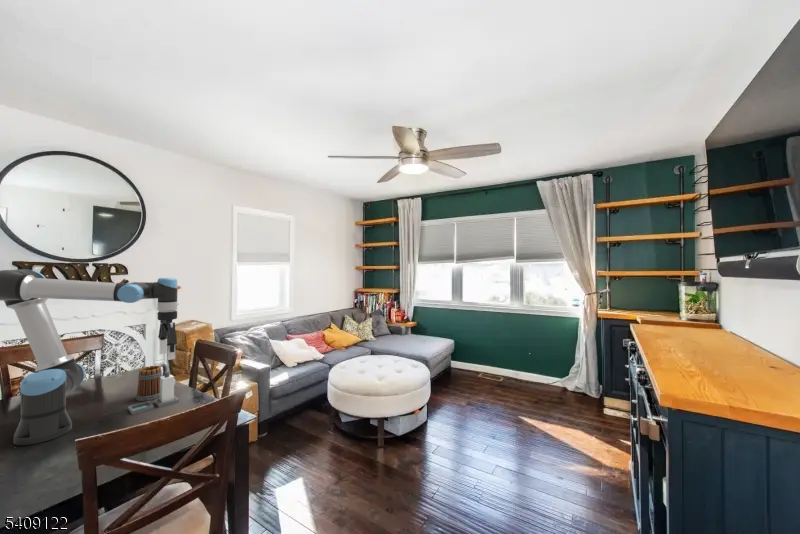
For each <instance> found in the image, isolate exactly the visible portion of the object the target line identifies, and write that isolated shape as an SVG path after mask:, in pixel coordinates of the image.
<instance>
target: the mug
mask: <svg viewBox="0 0 800 534" xmlns="http://www.w3.org/2000/svg"><path fill="white" fill-rule="evenodd" d="M165 372H168V367H167V364H166V363H159V364H158V365H150V366H144V367H142V368H140V369H139V372H138V378H137V379H138V381H137V382H138V383H137V392H136V398H135V399H136V401H138V402H147V401H155V399H159V398H160V377H162V376H165Z"/></svg>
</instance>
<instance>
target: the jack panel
mask: <svg viewBox="0 0 800 534" xmlns="http://www.w3.org/2000/svg"><path fill="white" fill-rule="evenodd" d="M178 403H180V398H178V397H177V396H176V395H175V394H174V400H172V401H168V402H164V403H160V398H157V399H154V404H155V405H156V406H157V407H158V408H163V407H167V406H170V405H174V404H178ZM154 404H153V403H152V401H151V400H149V401H142V402H140V403H136V404H132V405H128V408H127V409H128V411H129V413H130V415H135V414H139V413H143V412H148V411H150V410H154V409H155V405H154Z"/></svg>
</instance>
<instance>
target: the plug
mask: <svg viewBox="0 0 800 534" xmlns="http://www.w3.org/2000/svg"><path fill="white" fill-rule="evenodd" d="M175 385H176V379H175V376H174V375H172V374H170V371H167V372H165V376H162V377H160V403H164V402H168V401H172V400H174V395H175Z"/></svg>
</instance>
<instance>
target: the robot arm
mask: <svg viewBox="0 0 800 534" xmlns="http://www.w3.org/2000/svg"><path fill="white" fill-rule="evenodd" d="M178 289H179V288H178V280H177V278H175V277H160V278H158V279H157V281H154V282H147V281H146V282H143V281H141V282H139V281H133V282H126V283H123V282H121V283H120V282H107V281H105V282H103V281H89V280H76V279H74V280H72V279H58V278H57V279H56V278H46V277H45V275H43V273H41V272H39V271H36V270H32V269H28V268H26V269H25V268H21V269H3V270H0V301H2V302H4V304H5V306H6V307H7V308H8V309H11V310H14V312H15V315H16V317H17V320H18V322H19V323H20V326H21V328H22V331H23V332H24V335H25V337H26V340H27V342H28V344H29V347H30V349H31V351H32V354H33V356H34V358H35V360H36V363H37V367H36V368H35V369H34V372H33V373H31V374H27V376H25V377H24V378H23V379H22V381H21V383H20V388H19V391H20V421H19V423H18V426H17V427H16V430H15V432H14V434H13V439H12V440H13V441H12V442H13V444H14V445H15V446H16V445H17V446H28V445H29V446H30V445H35V444H39V443H40V444H41V443H44V442H48V441H51V440H54V439H57V438H59V437H62V436H63V435H65V434H67V433H69V432H70V431H71V430H72V429H73V422H72V419H71V417H70V415H69V414H68V411H67V410H66V405H67V404H66V403H67V400H66V399H67V398H66V397H67V395H69V394H70V393H72V392H73V391H75V390H76V389H77V388H78V387H79V386H80V385H81V384H82V383H83V381H84V379H85V377H86V371H85V370H86V369H85V368H84V367H83V366H82V365H81V364H79V363H77V361H76V360H75V357H74V356H72V355H71V356H70V355H68V353H67V352H66V351H67V350H66V349H65V347H64V344H63V341H62V340H61V337H60V335H59V333H58V332H59V331H58V329H57V328H56V325H55V323H54V320H53V319H52V318H53V317H52V316H51V314H50V311H49V309H48V307H47V304H46V301H47V300H48V299H49V300H50V299H55V300H76V301H77V300H79V301H82V300H83V301H99V302H100V301H103V302H105V301H107V302H122V303H127V304H133V303H136V302H138V301H141V300H149V299H150V300H151V299H155V300H156V299H157V305H156V306H157V308H156V309H157V311H158V312H157V320H158V321H159V330H158V336H157V337H158V340H159V355H164V354H167V360H168V361H169V360H170V361H171V360H175V359H176V345H177V344H178V340H177V332H176V323H175V322H173V320H177V318H178V305H179V302H178Z"/></svg>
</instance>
